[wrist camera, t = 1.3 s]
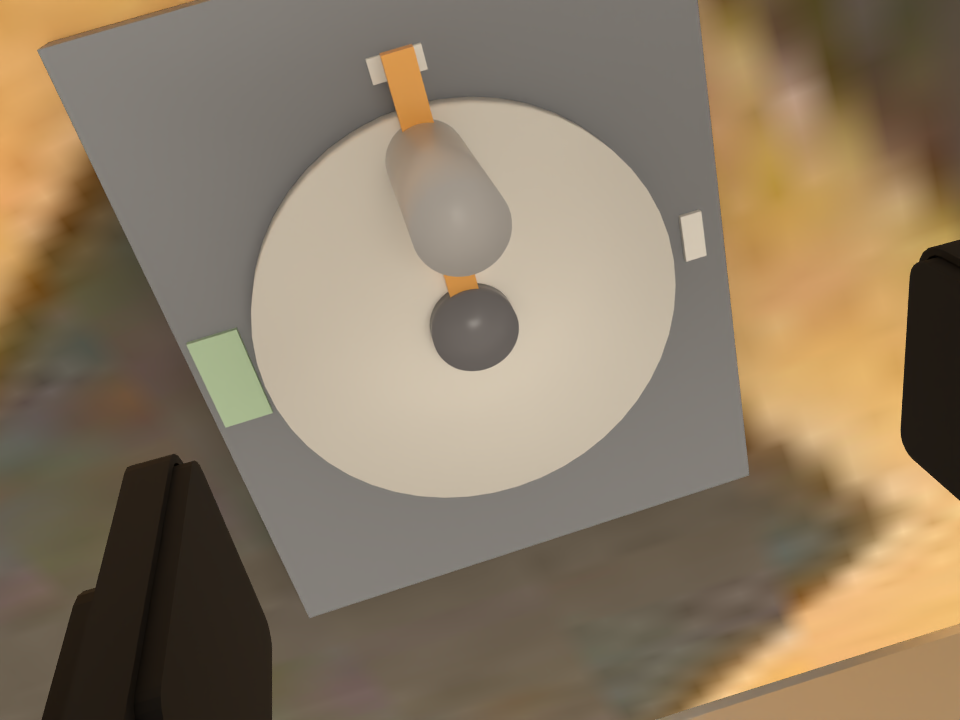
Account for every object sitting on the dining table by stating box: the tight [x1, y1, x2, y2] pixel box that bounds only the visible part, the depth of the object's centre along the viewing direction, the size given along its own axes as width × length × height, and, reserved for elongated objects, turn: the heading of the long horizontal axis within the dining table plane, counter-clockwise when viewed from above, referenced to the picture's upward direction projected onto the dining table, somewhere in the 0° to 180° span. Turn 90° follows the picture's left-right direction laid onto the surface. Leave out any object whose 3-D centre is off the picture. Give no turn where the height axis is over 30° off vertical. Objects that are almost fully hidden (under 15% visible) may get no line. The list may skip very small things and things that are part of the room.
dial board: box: [37, 0, 749, 618], centre depth 33 cm, size 20×24×2 cm
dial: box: [251, 44, 676, 498], centre depth 28 cm, size 17×15×8 cm
